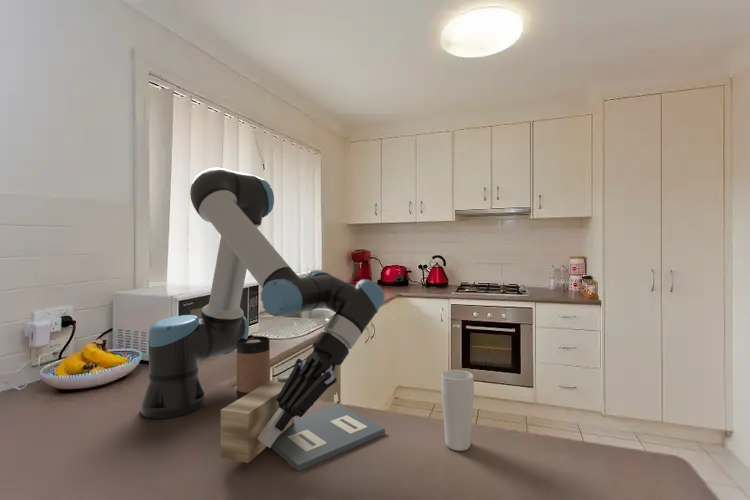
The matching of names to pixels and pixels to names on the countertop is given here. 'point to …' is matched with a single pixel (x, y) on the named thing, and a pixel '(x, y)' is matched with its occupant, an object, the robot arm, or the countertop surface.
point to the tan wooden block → (249, 421)
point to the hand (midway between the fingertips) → (263, 443)
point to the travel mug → (252, 364)
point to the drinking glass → (457, 408)
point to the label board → (324, 436)
